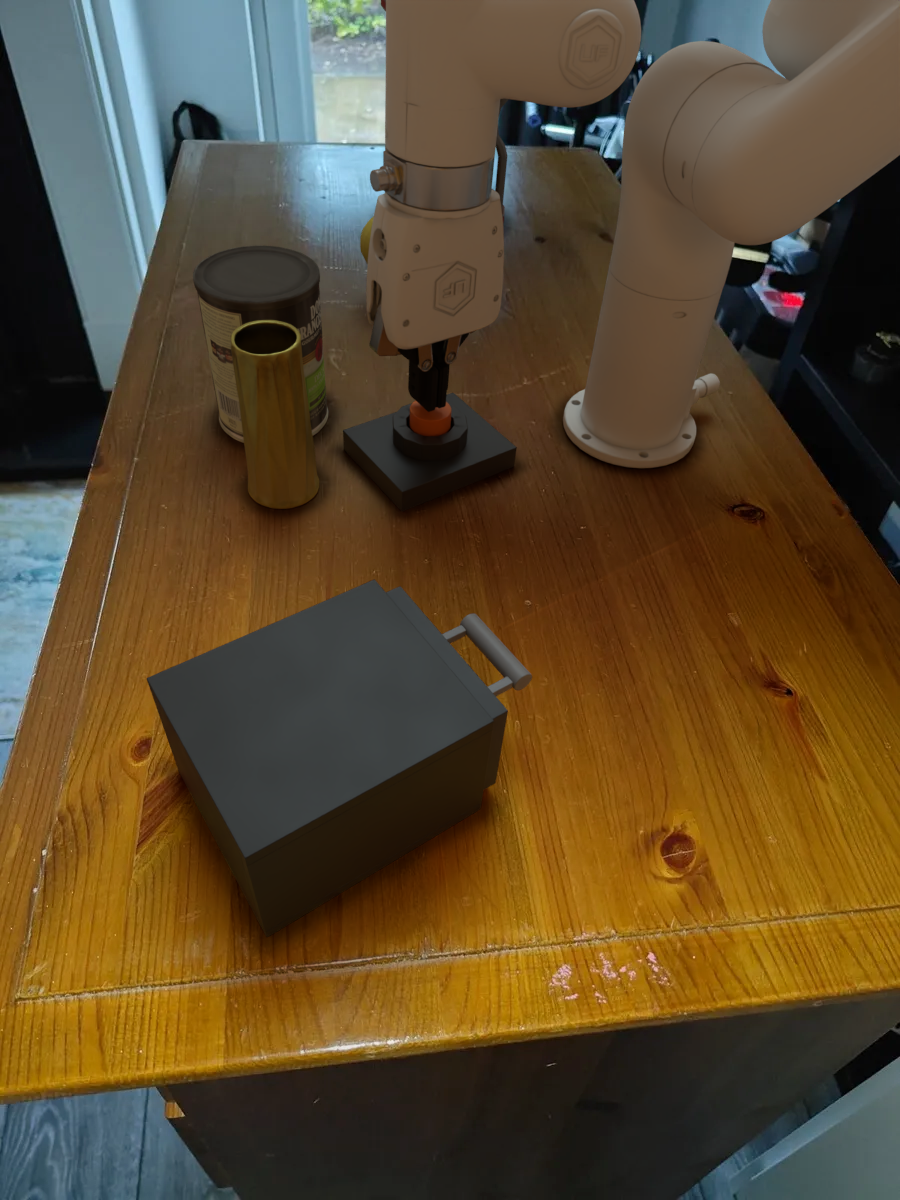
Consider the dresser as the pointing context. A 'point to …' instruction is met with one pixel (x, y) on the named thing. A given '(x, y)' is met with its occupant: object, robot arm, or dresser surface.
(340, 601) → the dark grey box
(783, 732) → the dresser surface
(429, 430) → the button
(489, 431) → the control block
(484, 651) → the drawer
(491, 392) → the dresser surface
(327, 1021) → the dresser surface
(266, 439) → the vase
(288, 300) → the coffee can
